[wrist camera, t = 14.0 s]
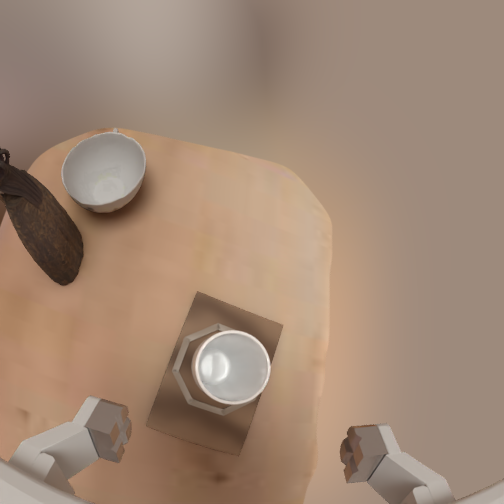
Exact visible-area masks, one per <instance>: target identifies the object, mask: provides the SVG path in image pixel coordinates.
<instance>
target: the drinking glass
mask: <svg viewBox="0 0 504 504" xmlns="http://www.w3.org/2000/svg"><path fill="white" fill-rule="evenodd" d="M270 370H271V366H270V359H269V356H268V353H267V351H266V349H265V348H264V346H263V345H262V344H261V342H260V341H259V340H257V339H256V338H255V337H253V336H252V335H250V334H248V333H245V332H242V331H237V330H228V331H222V332H219V333H216V334H214V335H212V336H210V337H208V338H207V339H205V340H204V341H203V342H202V343H201V344H200V345H199V346H198V347H197V349H196V350H195V352H194V354H193V357H192V361H191V372H192V376H193V379H194V381H195V383H196V385H197V386H198V388H199V389H200V390H201V391H202V392H203V393H204V394H205V395H207V396H208V397H210V398H211V399H213V400H216V401H218V402H220V403H224V404H229V405H237V404H242V403H246V402H248V401H250V400H252V399H254V398H255V397H257V396H258V395H259V394H260V393H261V392H262V391H263V389H264V388H265V386H266V385H267V382H268V380H269V376H270Z"/></svg>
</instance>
